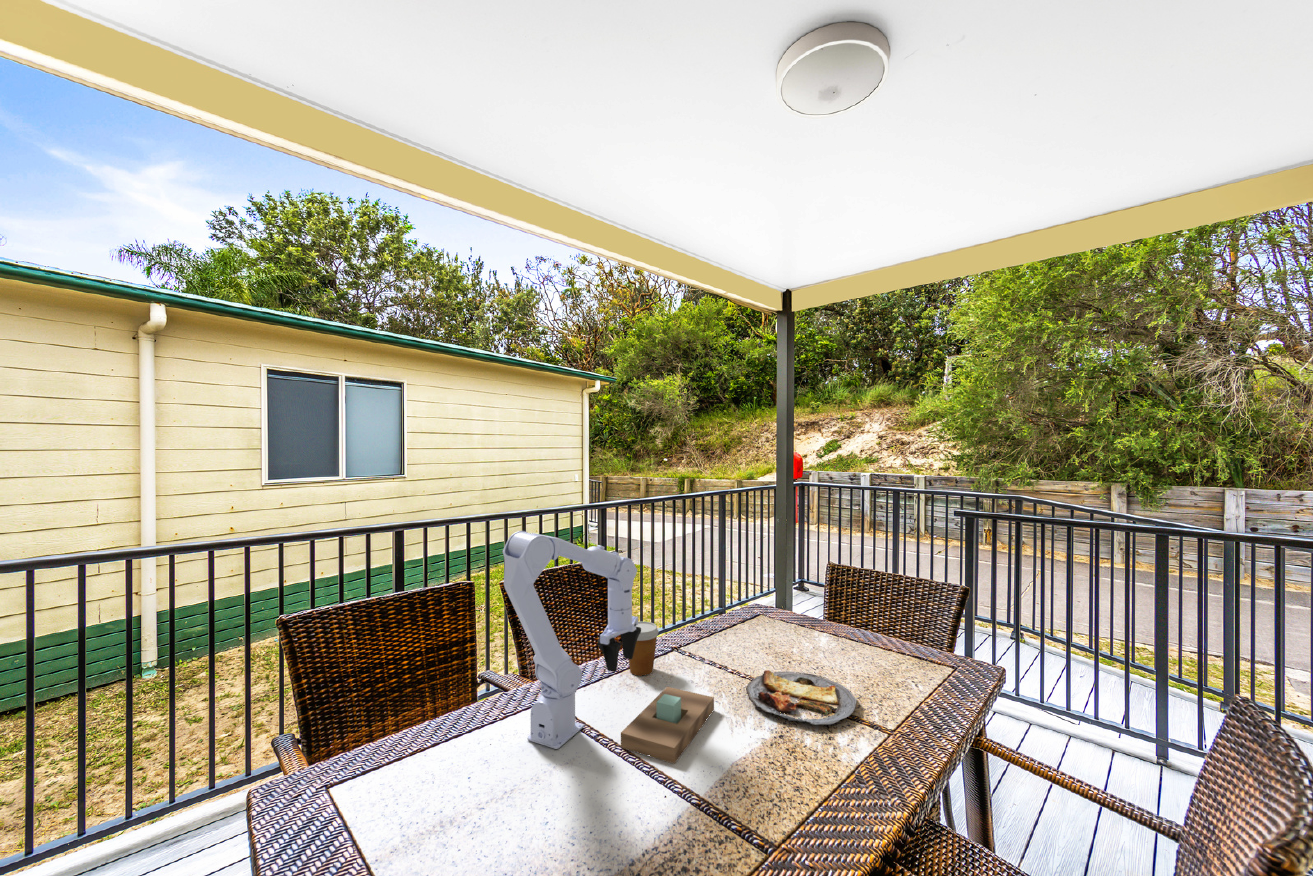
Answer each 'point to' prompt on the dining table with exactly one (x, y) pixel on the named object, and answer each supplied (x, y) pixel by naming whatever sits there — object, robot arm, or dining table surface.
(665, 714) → the teal block
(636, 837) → the dining table surface
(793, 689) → the food plate
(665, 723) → the well board
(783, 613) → the dining table surface
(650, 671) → the disposable coffee cup
